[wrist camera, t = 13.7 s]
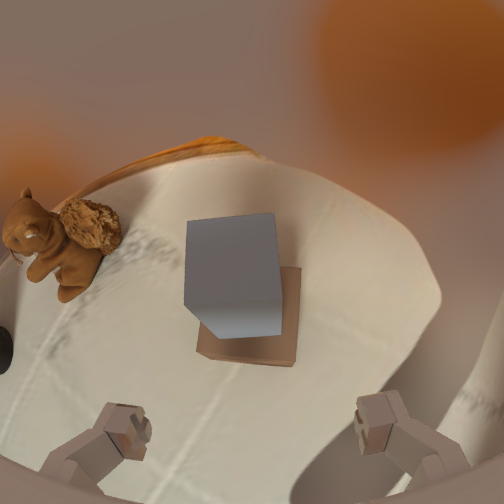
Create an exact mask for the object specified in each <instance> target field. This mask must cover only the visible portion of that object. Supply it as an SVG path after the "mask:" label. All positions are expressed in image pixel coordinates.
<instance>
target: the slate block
mask: <svg viewBox="0 0 504 504" xmlns="http://www.w3.org/2000/svg"><path fill="white" fill-rule="evenodd" d="M282 301H283V297H282V286H281V276H280V265H279V255H278V245H277V235H276V225H275V216H274V213H266V214H254V215H243V216H232V217H222V218H212V219H202V220H192V221H187V234H186V255H185V283H184V306H185V307H186V308H187V309H188V310H190V311H191V312H192V313H193V314H194V315H195V316H196V317H197V318H198V319H199V320H200V321H201V322H202V323H203V324H204V325H205V326H206V327H207V328H208V329H209V330H210V331H211V332H212V333H213V334H214V335H216V336H217V337H218V338H219V339H227V338H245V337H261V336H274V335H281V327H282Z"/></svg>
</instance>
